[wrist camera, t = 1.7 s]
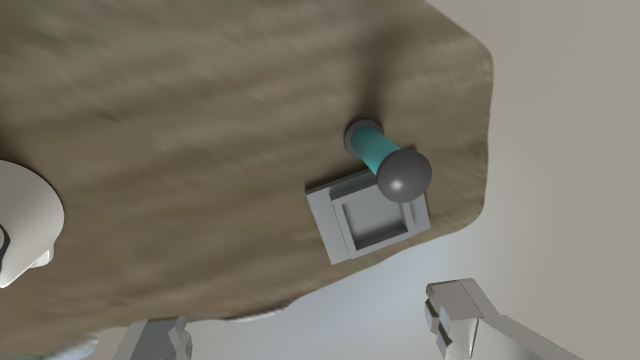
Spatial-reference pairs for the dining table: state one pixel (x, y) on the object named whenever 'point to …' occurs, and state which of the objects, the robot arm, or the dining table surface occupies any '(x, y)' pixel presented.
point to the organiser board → (362, 216)
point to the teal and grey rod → (388, 161)
